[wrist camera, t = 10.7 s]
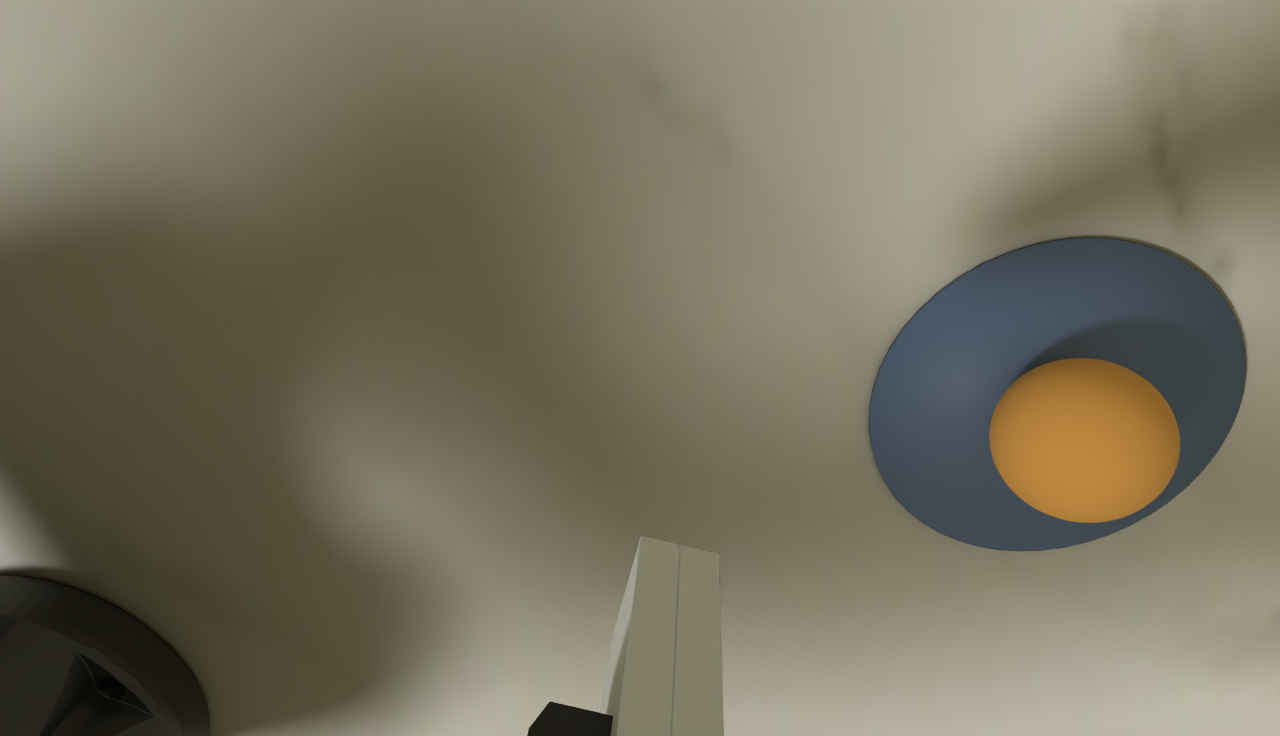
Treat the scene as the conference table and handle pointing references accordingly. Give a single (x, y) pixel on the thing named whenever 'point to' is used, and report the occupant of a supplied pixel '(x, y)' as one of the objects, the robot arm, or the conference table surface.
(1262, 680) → the conference table surface
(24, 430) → the conference table surface
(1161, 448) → the ball
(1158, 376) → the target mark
